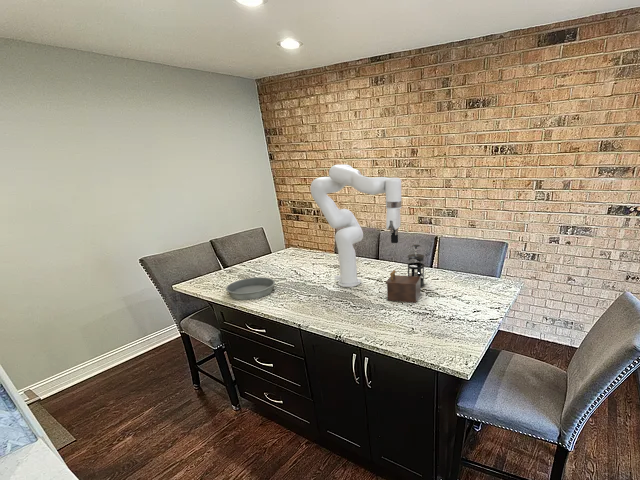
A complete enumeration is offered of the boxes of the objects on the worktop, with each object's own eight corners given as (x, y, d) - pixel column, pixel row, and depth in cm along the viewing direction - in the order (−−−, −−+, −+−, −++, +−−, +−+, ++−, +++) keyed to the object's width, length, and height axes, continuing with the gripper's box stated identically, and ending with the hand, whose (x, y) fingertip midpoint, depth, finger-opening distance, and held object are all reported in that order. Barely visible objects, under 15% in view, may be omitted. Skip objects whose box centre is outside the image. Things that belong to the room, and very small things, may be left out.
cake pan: (239, 305, 167) (238, 296, 166) (220, 293, 183) (218, 285, 181) (284, 291, 184) (283, 283, 182) (263, 281, 199) (261, 274, 198)
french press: (420, 289, 183) (420, 248, 174) (404, 287, 186) (404, 246, 178) (427, 282, 193) (428, 243, 184) (412, 280, 196) (412, 241, 188)
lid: (385, 283, 167) (385, 274, 165) (392, 276, 177) (391, 267, 175) (415, 286, 163) (415, 277, 161) (420, 278, 173) (420, 269, 172)
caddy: (387, 300, 170) (387, 283, 167) (393, 292, 180) (393, 276, 177) (415, 302, 166) (415, 286, 163) (420, 294, 177) (420, 278, 173)
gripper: (390, 202, 169) (391, 239, 176) (381, 206, 156) (383, 245, 163) (405, 203, 167) (405, 239, 175) (397, 207, 154) (397, 246, 161)
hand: (394, 242), depth 169 cm, fingers closed
